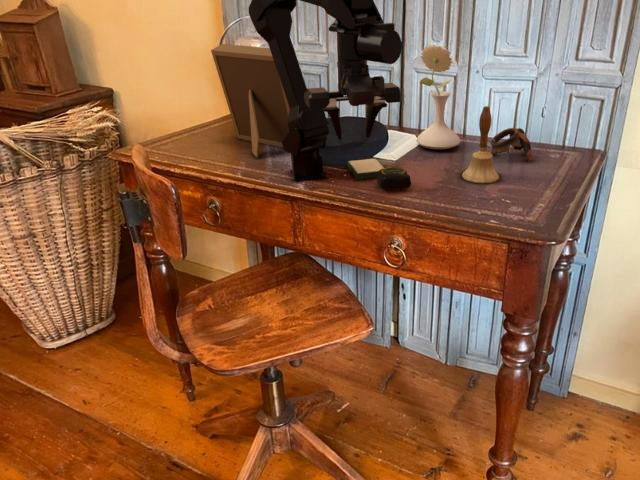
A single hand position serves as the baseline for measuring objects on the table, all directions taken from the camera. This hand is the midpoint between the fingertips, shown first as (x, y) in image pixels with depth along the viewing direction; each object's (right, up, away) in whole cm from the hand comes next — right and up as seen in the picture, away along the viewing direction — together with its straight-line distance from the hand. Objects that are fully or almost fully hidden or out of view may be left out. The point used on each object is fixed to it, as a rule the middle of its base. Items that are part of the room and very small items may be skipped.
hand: (353, 138), depth 117 cm
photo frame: (-26, +6, +35) cm, 44 cm away
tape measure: (+9, -9, +8) cm, 15 cm away
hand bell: (+29, -6, +14) cm, 32 cm away
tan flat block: (+3, -4, +17) cm, 18 cm away
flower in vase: (+21, +6, +34) cm, 41 cm away
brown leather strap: (+39, +1, +26) cm, 47 cm away
